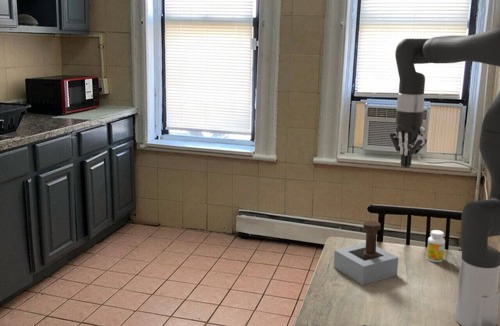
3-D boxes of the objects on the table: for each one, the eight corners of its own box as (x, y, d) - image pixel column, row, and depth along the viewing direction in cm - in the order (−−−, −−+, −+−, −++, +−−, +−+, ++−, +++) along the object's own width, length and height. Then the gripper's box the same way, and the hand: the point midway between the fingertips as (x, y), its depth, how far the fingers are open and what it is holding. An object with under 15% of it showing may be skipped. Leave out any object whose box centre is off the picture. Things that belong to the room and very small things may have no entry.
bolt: (378, 272, 163) (381, 226, 160) (362, 271, 163) (364, 225, 160) (376, 265, 168) (379, 220, 165) (360, 264, 169) (363, 219, 166)
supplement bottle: (422, 257, 178) (425, 230, 176) (435, 254, 180) (437, 228, 178) (434, 263, 174) (437, 236, 171) (446, 260, 176) (449, 233, 173)
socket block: (397, 275, 165) (398, 257, 164) (362, 284, 158) (363, 266, 157) (367, 258, 177) (368, 242, 175) (333, 267, 170) (334, 250, 169)
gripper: (437, 111, 149) (431, 170, 153) (402, 105, 160) (398, 161, 164) (417, 113, 145) (412, 173, 149) (384, 107, 156) (380, 163, 161)
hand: (405, 167), depth 157 cm, fingers closed
